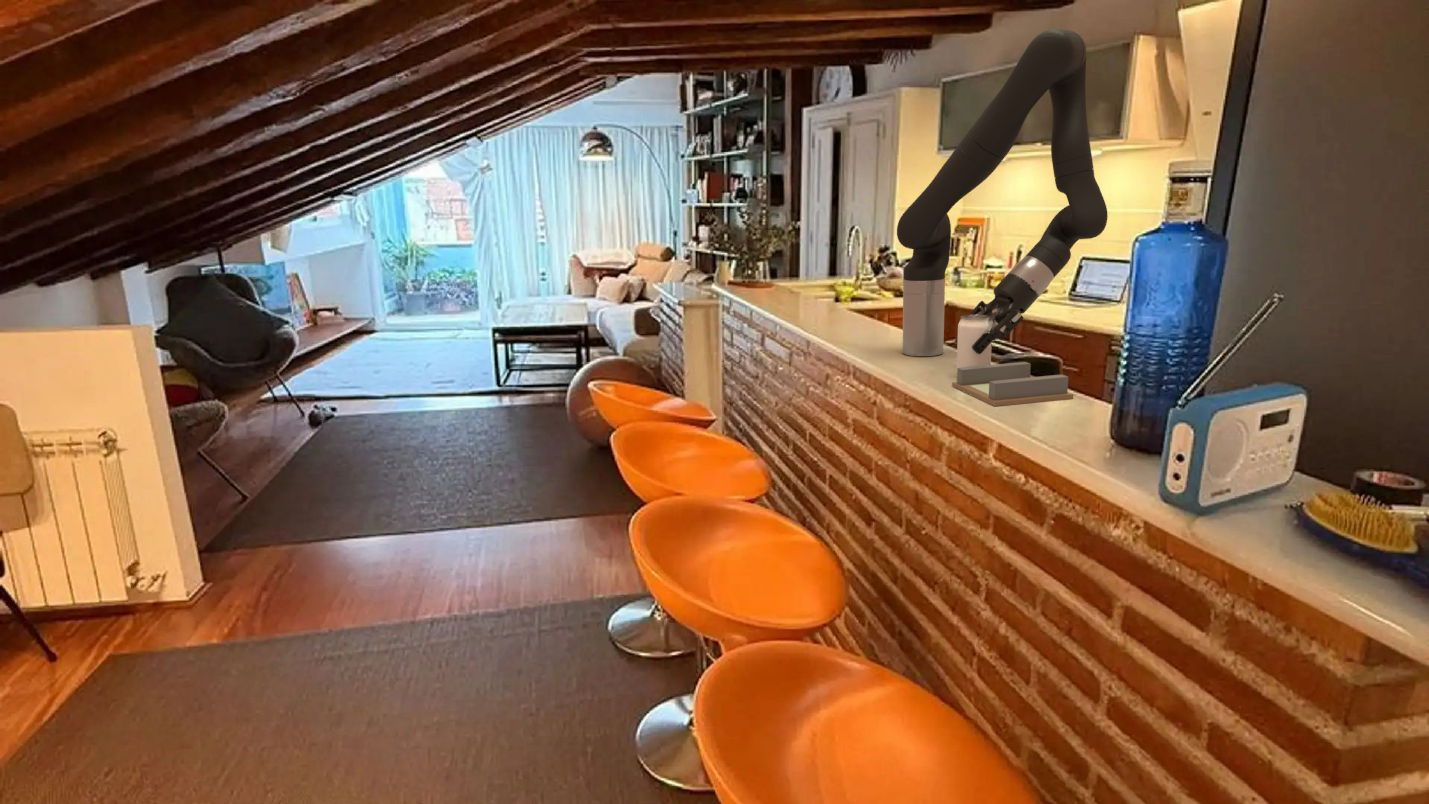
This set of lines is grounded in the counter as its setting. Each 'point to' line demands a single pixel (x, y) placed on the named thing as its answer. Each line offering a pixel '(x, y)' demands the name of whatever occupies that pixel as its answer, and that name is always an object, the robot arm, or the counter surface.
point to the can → (972, 341)
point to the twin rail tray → (1010, 384)
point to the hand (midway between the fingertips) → (966, 347)
